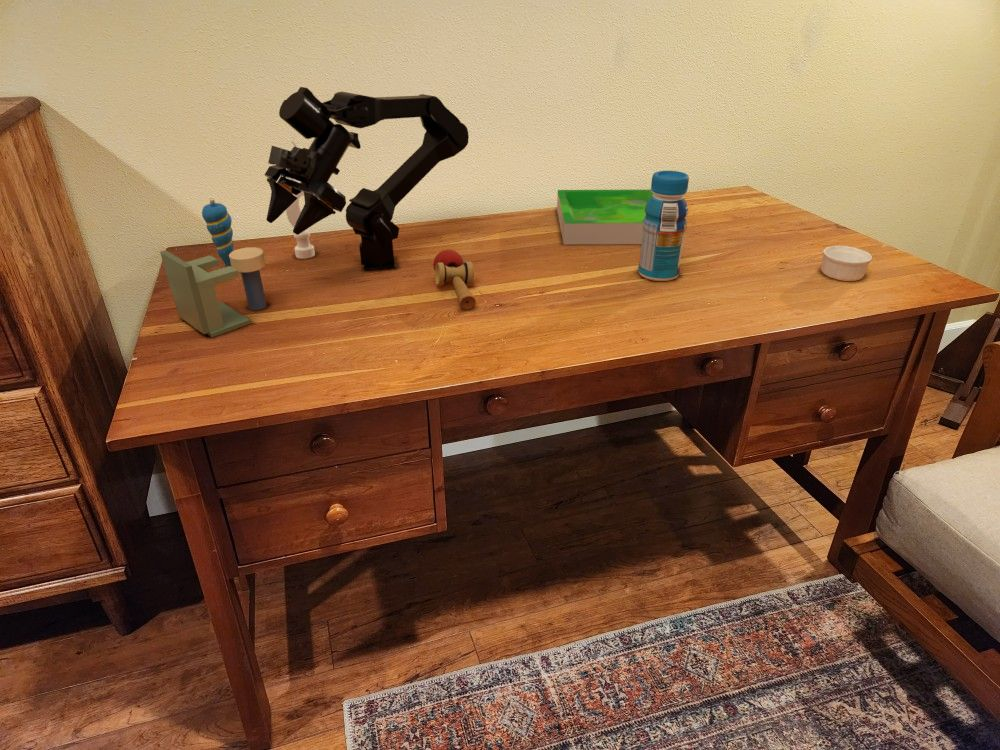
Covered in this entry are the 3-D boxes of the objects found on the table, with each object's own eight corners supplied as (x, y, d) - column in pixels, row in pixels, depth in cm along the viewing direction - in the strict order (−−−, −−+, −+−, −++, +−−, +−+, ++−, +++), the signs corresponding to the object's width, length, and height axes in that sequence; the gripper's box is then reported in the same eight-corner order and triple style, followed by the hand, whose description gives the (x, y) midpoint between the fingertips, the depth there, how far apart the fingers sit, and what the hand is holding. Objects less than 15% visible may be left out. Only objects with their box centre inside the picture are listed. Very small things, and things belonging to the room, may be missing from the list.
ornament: (233, 273, 138) (216, 201, 130) (210, 272, 139) (192, 200, 131) (246, 264, 142) (230, 194, 134) (224, 262, 143) (207, 192, 135)
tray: (675, 244, 150) (678, 222, 147) (563, 244, 150) (564, 222, 148) (654, 208, 171) (657, 189, 169) (556, 209, 172) (557, 189, 169)
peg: (275, 298, 127) (264, 246, 122) (272, 311, 122) (261, 257, 117) (243, 301, 126) (231, 248, 121) (239, 315, 121) (226, 260, 116)
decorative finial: (294, 259, 144) (273, 139, 131) (293, 253, 147) (272, 134, 134) (322, 256, 145) (304, 136, 132) (320, 249, 149) (302, 132, 136)
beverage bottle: (629, 274, 135) (639, 175, 125) (651, 263, 141) (663, 166, 130) (665, 286, 131) (679, 183, 120) (687, 273, 136) (702, 174, 125)
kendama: (492, 312, 124) (466, 264, 138) (486, 284, 120) (460, 237, 133) (452, 324, 123) (430, 275, 137) (445, 296, 119) (423, 248, 132)
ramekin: (875, 276, 134) (882, 256, 131) (847, 286, 130) (853, 265, 128) (836, 262, 140) (841, 242, 138) (808, 271, 136) (813, 250, 134)
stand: (221, 305, 125) (205, 238, 118) (251, 323, 118) (235, 254, 112) (178, 319, 120) (158, 250, 113) (206, 339, 113) (187, 268, 107)
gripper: (264, 119, 122) (220, 193, 121) (321, 134, 111) (273, 215, 110) (309, 156, 131) (268, 224, 130) (366, 173, 120) (322, 248, 119)
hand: (281, 227), depth 122 cm, fingers open, 9 cm apart
